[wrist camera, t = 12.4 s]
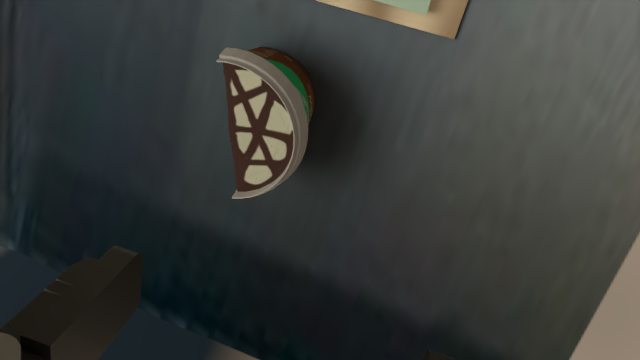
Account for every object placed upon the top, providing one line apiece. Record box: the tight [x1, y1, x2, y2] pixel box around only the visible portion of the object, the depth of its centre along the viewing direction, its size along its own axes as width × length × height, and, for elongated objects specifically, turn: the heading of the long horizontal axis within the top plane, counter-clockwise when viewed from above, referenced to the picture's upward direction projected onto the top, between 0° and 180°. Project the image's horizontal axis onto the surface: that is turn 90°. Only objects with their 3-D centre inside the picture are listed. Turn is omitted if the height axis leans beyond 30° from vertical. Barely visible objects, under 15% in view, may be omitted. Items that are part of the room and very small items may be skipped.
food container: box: [216, 47, 315, 199], centre depth 43 cm, size 12×6×10 cm, turn 2°
